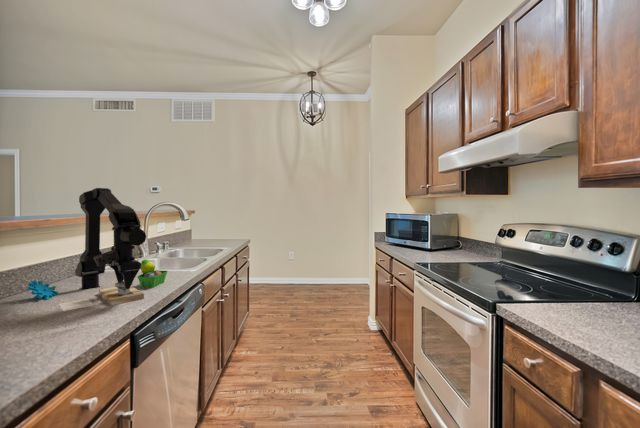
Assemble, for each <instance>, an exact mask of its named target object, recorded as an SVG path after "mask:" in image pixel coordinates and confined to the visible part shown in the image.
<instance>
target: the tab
mask: <svg viewBox="0 0 640 428" xmlns="http://www.w3.org/2000/svg"><path fill="white" fill-rule="evenodd" d="M58 305H59V308H60V309H61V310H62V312H67V311H73V310H76V309H82V308H86V307H87V308H88V307H93V306H94V303H92V301H91V299H88V298H84V299H78V300H74V301H68V302H62V303H58Z"/></svg>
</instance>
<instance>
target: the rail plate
mask: <svg viewBox="0 0 640 428" xmlns="http://www.w3.org/2000/svg"><path fill="white" fill-rule="evenodd" d="M98 295H99V296H100V297H102V298H103V300H104V301H106V302H107V303H108V304H109V305H111V306H114V305H120V304H123V303H124V304H125V303H129V302H135V301H139V300H144V299H145V294H144V292H142V291H140V290H139V289H137V288H136V287H134V286H132V285H131V286H130V295H124V296H119V297H118V287H115V286H112V287H106V288H105V287H104V288H99V289H98Z"/></svg>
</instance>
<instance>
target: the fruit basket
mask: <svg viewBox="0 0 640 428" xmlns="http://www.w3.org/2000/svg"><path fill="white" fill-rule="evenodd" d="M140 263H141V269H140V270H141V271H140V272H141V273H142V274H139V275H138V276H137V275H136V277H137V279H138V281H139V284H140V286H141V288H156V287H157V286H159V284H160V285H161V284H164V283H165V280H166V277H167V274H168V270H158V269H156V265H155V264H154V263H153V262H151V261H150V260H149V259H142V260H141V262H140ZM155 269H156V270H155ZM163 282H164V283H163Z"/></svg>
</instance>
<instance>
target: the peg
mask: <svg viewBox="0 0 640 428" xmlns="http://www.w3.org/2000/svg"><path fill="white" fill-rule="evenodd" d="M132 285H133V283H132V284H131V286H132ZM114 287H118V297H119V296H124V295H130V288H129V289H126V288H125V284H124V280H123V281H122V282H118V281H117V282H115V284H114Z"/></svg>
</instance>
